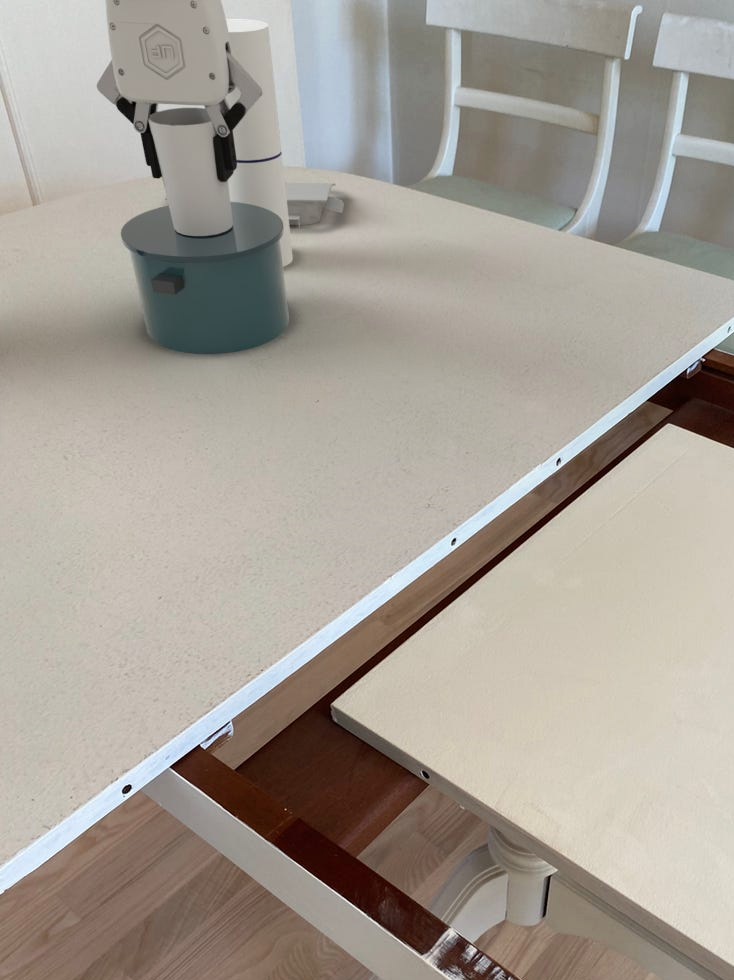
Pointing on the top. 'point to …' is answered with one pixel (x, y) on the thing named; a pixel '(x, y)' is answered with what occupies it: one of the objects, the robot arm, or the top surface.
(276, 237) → the pot
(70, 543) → the top surface
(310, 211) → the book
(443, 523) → the top surface
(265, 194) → the cylindrical container
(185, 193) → the white cup
